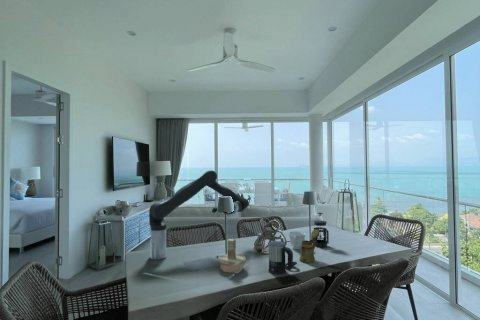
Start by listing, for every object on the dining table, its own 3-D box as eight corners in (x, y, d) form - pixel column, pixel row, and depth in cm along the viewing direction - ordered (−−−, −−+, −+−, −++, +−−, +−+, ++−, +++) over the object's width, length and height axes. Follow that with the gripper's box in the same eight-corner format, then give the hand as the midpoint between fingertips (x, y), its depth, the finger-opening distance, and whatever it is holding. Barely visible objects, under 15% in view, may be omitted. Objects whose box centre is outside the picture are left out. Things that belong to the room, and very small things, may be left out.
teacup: (285, 251, 179) (285, 235, 179) (290, 244, 193) (289, 230, 193) (304, 253, 175) (303, 237, 175) (307, 246, 188) (307, 232, 189)
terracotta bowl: (226, 275, 139) (226, 265, 139) (218, 268, 149) (218, 259, 149) (245, 271, 144) (245, 262, 145) (236, 264, 154) (236, 255, 155)
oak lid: (237, 267, 137) (237, 244, 137) (212, 262, 144) (212, 241, 144) (250, 258, 150) (249, 237, 151) (226, 254, 157) (226, 235, 157)
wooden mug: (324, 260, 161) (323, 229, 161) (306, 264, 155) (305, 232, 155) (313, 256, 169) (313, 226, 169) (296, 259, 163) (296, 229, 163)
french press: (309, 245, 192) (309, 212, 193) (318, 243, 197) (318, 211, 198) (323, 249, 182) (323, 214, 183) (332, 246, 188) (331, 213, 188)
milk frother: (266, 273, 142) (265, 244, 143) (273, 263, 157) (273, 237, 157) (293, 277, 137) (292, 247, 137) (298, 266, 152) (298, 239, 152)
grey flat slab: (190, 273, 142) (190, 271, 142) (182, 263, 157) (182, 262, 157) (222, 267, 151) (222, 265, 151) (211, 258, 165) (211, 257, 165)
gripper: (222, 201, 187) (208, 204, 173) (240, 203, 181) (228, 206, 166) (222, 212, 187) (208, 216, 173) (240, 214, 181) (228, 218, 166)
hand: (218, 211), depth 169 cm, fingers open, 8 cm apart
